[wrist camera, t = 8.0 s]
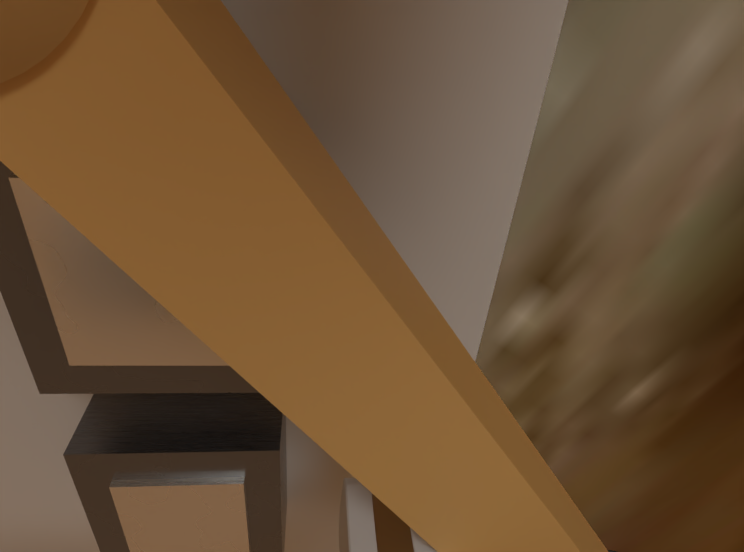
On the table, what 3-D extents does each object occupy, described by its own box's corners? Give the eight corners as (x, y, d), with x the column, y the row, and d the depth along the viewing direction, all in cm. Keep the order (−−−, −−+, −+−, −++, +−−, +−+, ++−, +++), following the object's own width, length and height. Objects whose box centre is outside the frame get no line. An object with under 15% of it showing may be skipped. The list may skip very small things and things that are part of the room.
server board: (-545, -464, 7) (-1712, -1022, 3) (614, -278, 8) (852, -459, 5) (13, 548, 19) (-59, 692, 16) (420, 533, 21) (442, 658, 18)
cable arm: (-322, -237, 4) (-839, -386, 2) (-59, -590, 4) (-511, -1231, 2) (540, 611, 15) (573, 711, 13) (655, 570, 15) (709, 670, 13)
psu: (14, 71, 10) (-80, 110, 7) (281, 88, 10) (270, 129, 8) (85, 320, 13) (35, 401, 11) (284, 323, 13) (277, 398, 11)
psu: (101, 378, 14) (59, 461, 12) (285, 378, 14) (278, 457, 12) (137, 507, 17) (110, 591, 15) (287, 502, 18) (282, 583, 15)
